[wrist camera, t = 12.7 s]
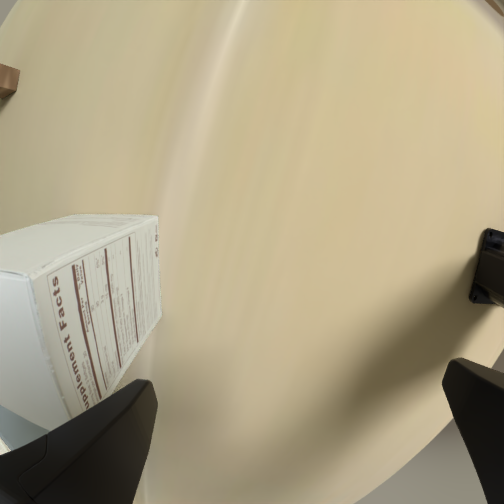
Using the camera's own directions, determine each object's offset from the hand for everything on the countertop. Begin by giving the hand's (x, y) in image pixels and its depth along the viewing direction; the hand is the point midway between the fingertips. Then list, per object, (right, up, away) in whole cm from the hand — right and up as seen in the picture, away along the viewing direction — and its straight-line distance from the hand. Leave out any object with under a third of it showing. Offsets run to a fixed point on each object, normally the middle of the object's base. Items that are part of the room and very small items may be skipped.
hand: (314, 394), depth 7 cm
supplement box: (-11, +3, +12) cm, 17 cm away
